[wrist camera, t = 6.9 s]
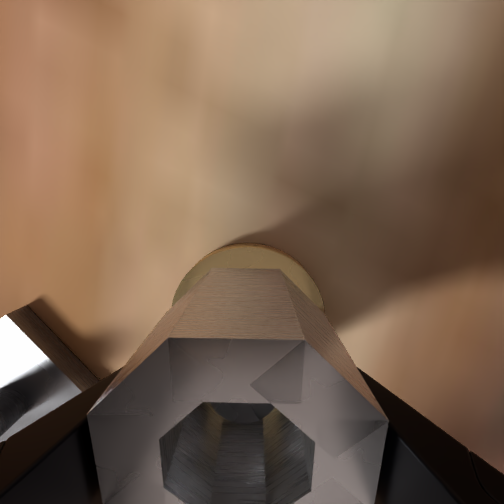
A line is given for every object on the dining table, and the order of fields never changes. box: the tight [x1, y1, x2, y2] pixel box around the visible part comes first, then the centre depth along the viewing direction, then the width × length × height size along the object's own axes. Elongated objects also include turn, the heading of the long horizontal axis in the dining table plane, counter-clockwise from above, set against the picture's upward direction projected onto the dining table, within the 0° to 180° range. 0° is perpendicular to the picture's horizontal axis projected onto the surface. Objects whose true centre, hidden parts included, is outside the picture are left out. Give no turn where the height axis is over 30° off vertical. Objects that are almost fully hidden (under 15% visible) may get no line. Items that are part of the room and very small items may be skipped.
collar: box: [87, 268, 389, 504], centre depth 7 cm, size 6×6×4 cm
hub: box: [172, 243, 325, 423], centre depth 9 cm, size 7×7×5 cm
